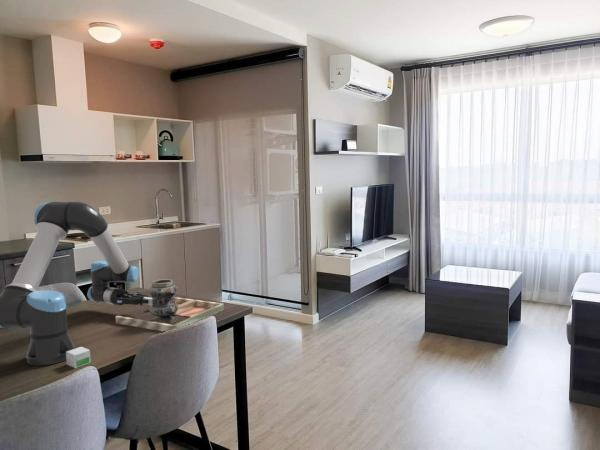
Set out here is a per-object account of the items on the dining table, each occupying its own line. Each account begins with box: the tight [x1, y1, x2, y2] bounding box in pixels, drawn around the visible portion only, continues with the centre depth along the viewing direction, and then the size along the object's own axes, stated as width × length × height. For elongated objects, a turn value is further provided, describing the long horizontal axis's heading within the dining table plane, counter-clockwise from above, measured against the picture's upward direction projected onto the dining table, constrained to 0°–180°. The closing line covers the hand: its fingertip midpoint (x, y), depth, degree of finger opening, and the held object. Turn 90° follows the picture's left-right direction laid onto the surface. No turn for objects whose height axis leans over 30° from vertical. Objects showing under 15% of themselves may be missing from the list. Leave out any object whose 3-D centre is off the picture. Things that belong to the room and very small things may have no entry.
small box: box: [66, 346, 91, 369], centre depth 159 cm, size 6×6×5 cm
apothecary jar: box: [148, 278, 178, 325], centre depth 201 cm, size 12×12×18 cm
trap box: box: [115, 296, 225, 332], centre depth 209 cm, size 32×34×3 cm
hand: (155, 301), depth 205 cm, fingers closed
